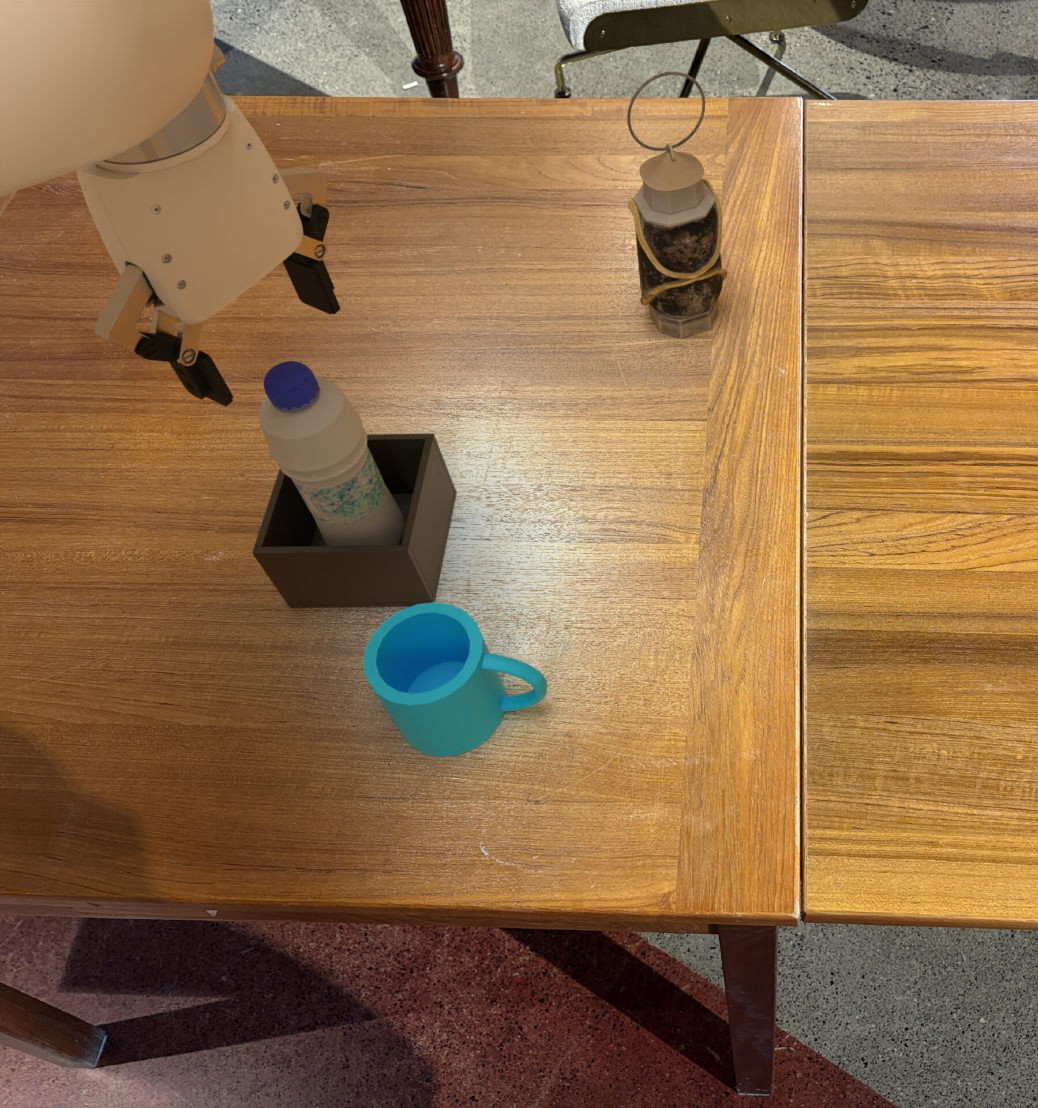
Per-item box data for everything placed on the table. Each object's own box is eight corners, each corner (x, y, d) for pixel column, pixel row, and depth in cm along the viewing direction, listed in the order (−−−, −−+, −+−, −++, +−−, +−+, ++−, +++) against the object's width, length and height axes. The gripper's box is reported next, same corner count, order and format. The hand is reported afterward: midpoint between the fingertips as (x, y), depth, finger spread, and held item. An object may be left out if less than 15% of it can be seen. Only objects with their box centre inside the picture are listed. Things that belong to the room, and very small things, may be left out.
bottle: (375, 500, 91) (288, 324, 75) (430, 537, 89) (354, 363, 72) (315, 553, 88) (210, 381, 72) (370, 592, 86) (276, 424, 69)
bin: (433, 606, 85) (407, 551, 79) (289, 607, 86) (251, 553, 79) (456, 492, 92) (434, 433, 86) (322, 493, 92) (290, 435, 86)
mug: (385, 754, 78) (349, 703, 71) (411, 657, 83) (379, 600, 76) (547, 761, 77) (526, 709, 71) (564, 662, 82) (546, 605, 75)
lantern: (709, 277, 107) (695, 35, 87) (741, 328, 103) (734, 86, 83) (628, 302, 106) (594, 61, 85) (657, 354, 101) (629, 114, 81)
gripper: (218, 17, 62) (319, 258, 76) (-42, 173, 53) (126, 414, 67) (314, 48, 59) (400, 291, 73) (58, 217, 51) (211, 457, 64)
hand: (269, 349), depth 70 cm, fingers open, 9 cm apart
